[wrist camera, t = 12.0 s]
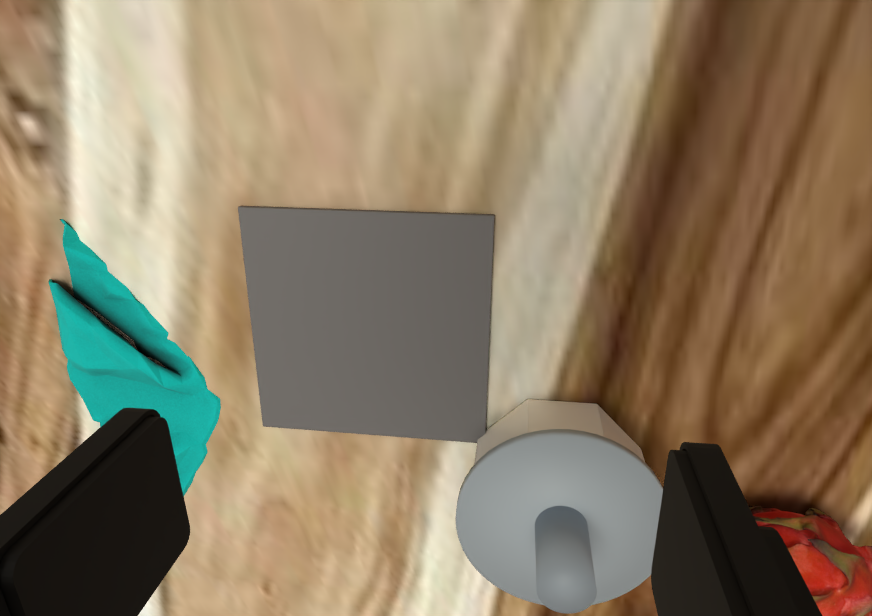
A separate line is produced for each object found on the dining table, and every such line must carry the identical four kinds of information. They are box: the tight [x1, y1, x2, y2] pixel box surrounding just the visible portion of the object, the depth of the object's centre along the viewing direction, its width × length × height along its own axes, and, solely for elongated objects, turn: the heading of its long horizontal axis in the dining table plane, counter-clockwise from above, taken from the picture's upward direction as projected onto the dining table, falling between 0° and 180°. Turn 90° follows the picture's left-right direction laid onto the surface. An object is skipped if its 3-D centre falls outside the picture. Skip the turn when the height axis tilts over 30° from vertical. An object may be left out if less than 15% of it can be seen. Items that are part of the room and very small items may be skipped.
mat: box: [238, 206, 494, 443], centre depth 41 cm, size 16×16×1 cm
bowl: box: [475, 399, 645, 463], centre depth 41 cm, size 11×11×5 cm
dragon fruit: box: [749, 506, 872, 616], centre depth 40 cm, size 8×8×12 cm
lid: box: [456, 429, 663, 613], centre depth 36 cm, size 13×13×6 cm
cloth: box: [49, 219, 221, 497], centre depth 45 cm, size 26×14×2 cm, turn 173°
